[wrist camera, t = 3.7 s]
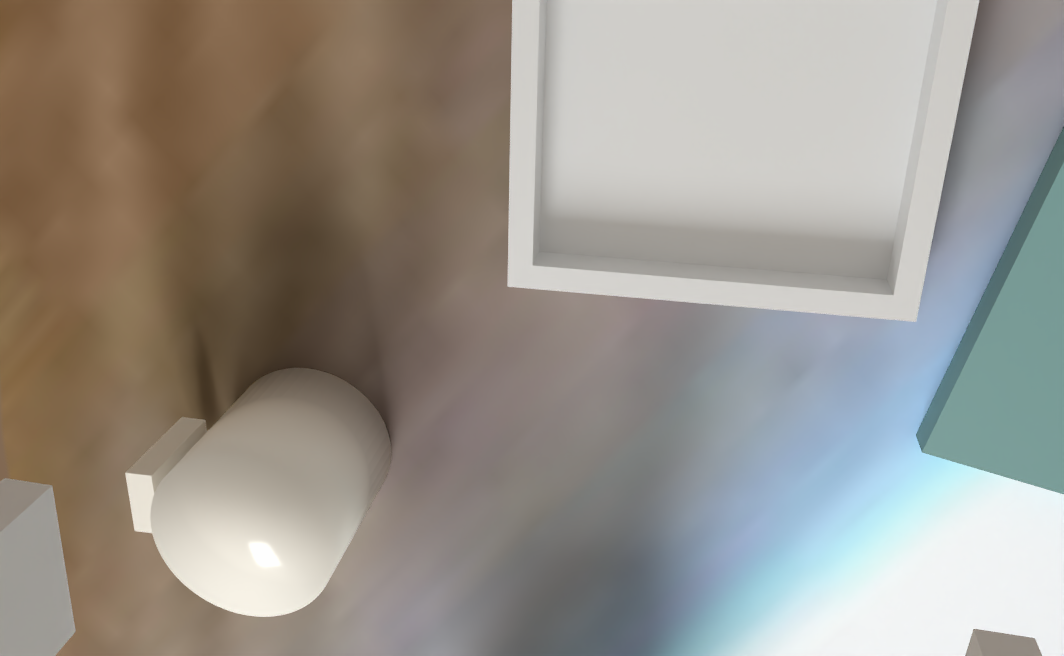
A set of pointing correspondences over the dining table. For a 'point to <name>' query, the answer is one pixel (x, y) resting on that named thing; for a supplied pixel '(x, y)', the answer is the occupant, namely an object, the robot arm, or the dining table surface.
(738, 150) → the tray
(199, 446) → the mug
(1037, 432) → the teal notebook
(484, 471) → the dining table surface
